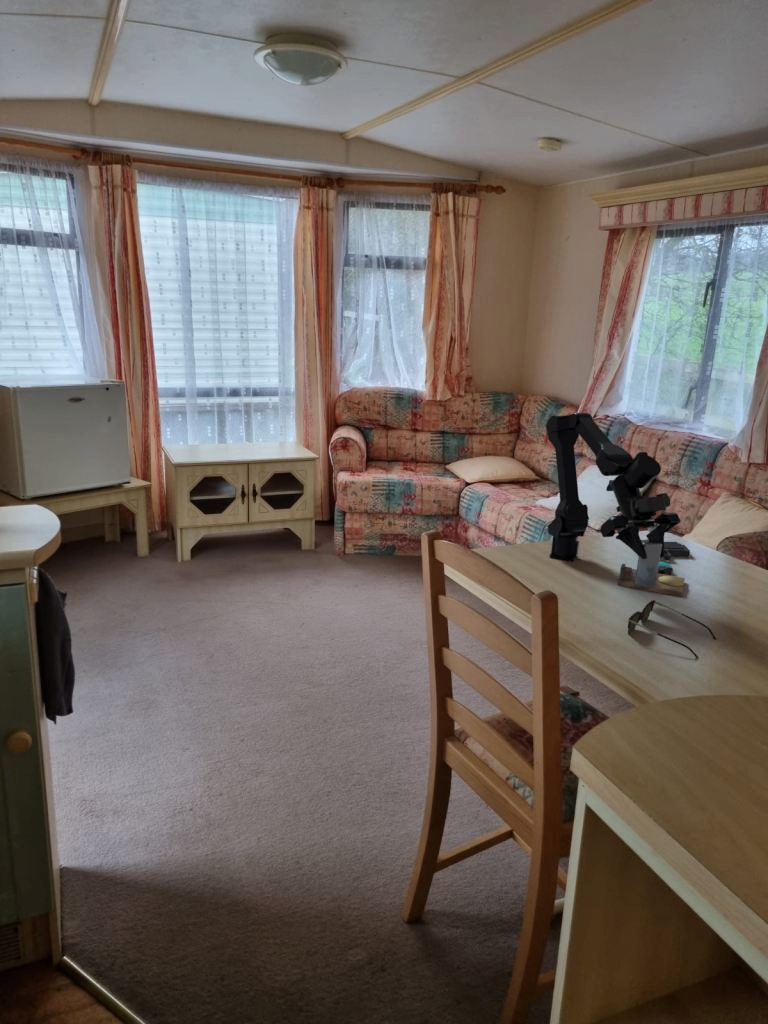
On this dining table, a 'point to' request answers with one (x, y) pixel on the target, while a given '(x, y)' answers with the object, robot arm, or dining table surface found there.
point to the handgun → (671, 551)
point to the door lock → (663, 582)
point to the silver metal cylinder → (648, 564)
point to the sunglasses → (644, 616)
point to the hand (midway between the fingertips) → (653, 557)
